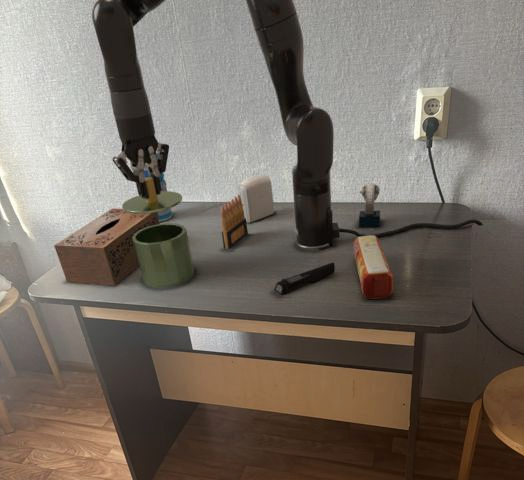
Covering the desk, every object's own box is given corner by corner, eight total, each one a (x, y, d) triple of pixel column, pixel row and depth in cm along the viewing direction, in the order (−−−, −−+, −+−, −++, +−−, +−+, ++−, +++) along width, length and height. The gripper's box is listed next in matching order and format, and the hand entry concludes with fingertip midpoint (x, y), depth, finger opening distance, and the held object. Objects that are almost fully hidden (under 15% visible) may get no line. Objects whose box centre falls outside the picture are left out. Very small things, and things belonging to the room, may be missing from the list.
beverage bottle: (170, 221, 160) (156, 155, 149) (144, 224, 161) (128, 158, 149) (174, 212, 167) (161, 148, 156) (149, 214, 168) (134, 151, 156)
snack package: (352, 259, 125) (352, 232, 121) (380, 257, 124) (380, 230, 120) (361, 302, 107) (361, 272, 104) (393, 300, 107) (394, 270, 103)
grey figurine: (380, 218, 144) (381, 179, 138) (379, 229, 138) (380, 189, 132) (359, 219, 146) (360, 180, 139) (358, 230, 139) (358, 189, 133)
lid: (186, 193, 122) (181, 167, 119) (178, 213, 111) (172, 184, 107) (130, 199, 123) (124, 173, 119) (117, 219, 112) (109, 191, 108)
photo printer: (249, 224, 152) (244, 182, 145) (241, 220, 154) (235, 179, 148) (276, 214, 156) (272, 172, 149) (267, 211, 159) (264, 170, 152)
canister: (196, 264, 132) (188, 221, 125) (191, 286, 121) (181, 241, 115) (149, 268, 133) (138, 226, 126) (139, 291, 122) (127, 246, 116)
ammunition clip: (229, 250, 137) (223, 206, 130) (223, 250, 137) (217, 206, 131) (248, 235, 144) (243, 193, 138) (242, 234, 145) (237, 192, 138)
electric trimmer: (338, 277, 118) (338, 264, 116) (282, 298, 112) (281, 285, 111) (329, 271, 121) (328, 259, 119) (273, 291, 115) (272, 279, 113)
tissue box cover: (121, 241, 150) (112, 208, 145) (164, 243, 146) (156, 209, 140) (67, 282, 131) (54, 245, 125) (114, 285, 126) (103, 247, 120)
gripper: (112, 121, 100) (134, 208, 109) (170, 107, 107) (185, 189, 117) (93, 119, 104) (115, 202, 114) (150, 105, 112) (166, 185, 122)
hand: (151, 195), depth 115 cm, fingers closed on lid, 2 cm apart
